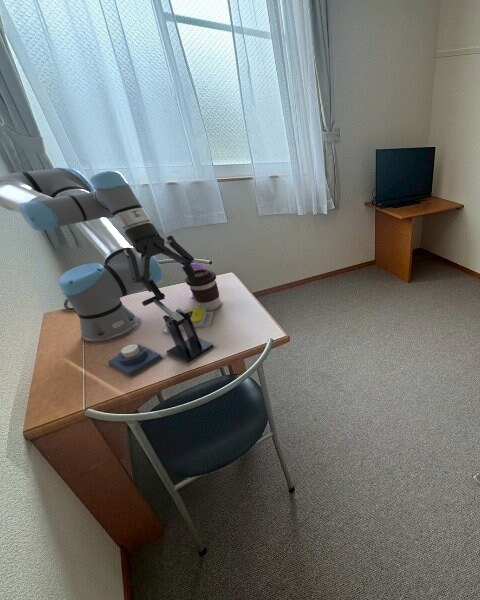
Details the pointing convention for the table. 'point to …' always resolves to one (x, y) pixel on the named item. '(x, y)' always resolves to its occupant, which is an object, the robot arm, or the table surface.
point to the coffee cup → (205, 289)
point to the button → (130, 351)
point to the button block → (135, 361)
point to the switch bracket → (185, 348)
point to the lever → (165, 309)
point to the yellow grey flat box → (196, 318)
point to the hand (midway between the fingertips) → (179, 291)
